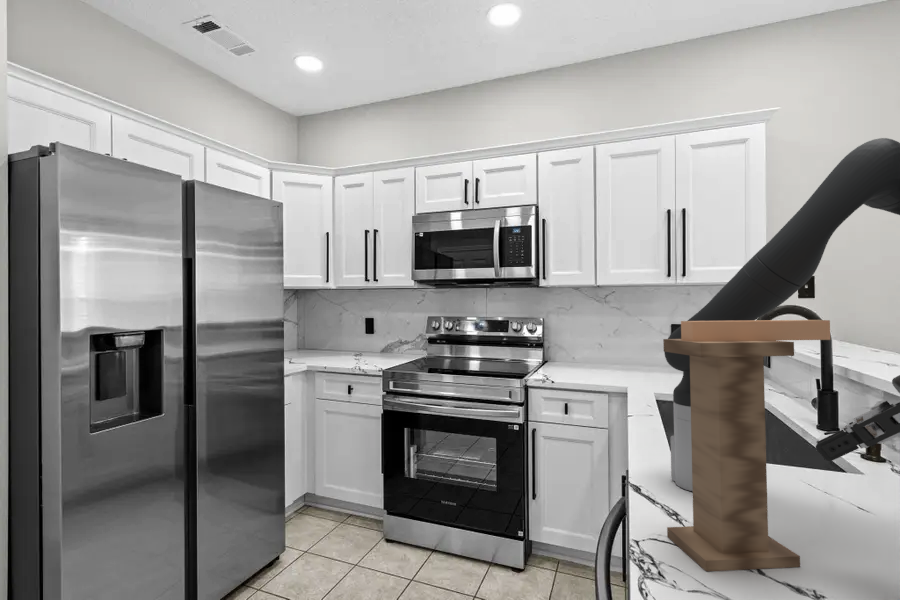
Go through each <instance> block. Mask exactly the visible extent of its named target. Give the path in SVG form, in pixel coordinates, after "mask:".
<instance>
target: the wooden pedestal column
mask: <svg viewBox="0 0 900 600" xmlns="http://www.w3.org/2000/svg"><path fill="white" fill-rule="evenodd" d="M662 339H663V352H664V351H665V352H671V353H677V354H684V355H690V395H691V441H692V486H693V491H692V519H693V520H692V522H693V523H692V524H693V525H692V526H691V525H690V526H669V527H668V526H667V527H666V528H667V529H666V530H667V531H666V534H667V535H666V536H667V538H668V539H669V540H670V541H671V542H673V543H674V544H675V545H676V546H677V547H678V548H679V549H681V551H683V552H684V553H685V554H686V555H688V557H689V558H690V559H692V560H693V561H694V562H695V563H696V564H697V565H698V566H699V567H700V568H702V569H703V570H704V571H705V572H723V571H725V572H727V571H739V570H740V571H743V570H744V571H745V570H762V569H763V570H765V569H780V568H781V569H782V568H783V569H784V568H785V569H786V568H800V567H801V556H800V555H799V554H797V553H796V552H794V551H792V550H791V549H790V548H788V547H786V546H785V545H784V544H781V543H780V542H778V541H777V540H775V539H774V538H773V537H771V536H769V521H768V519H769V518H768V516H769V515H768V488H767V487H768V478H767V477H768V475H767V442H766V441H767V440H766V439H767V437H766V436H767V435H766V405H765V404H766V403H765V402H766V401H765V371H764V370H765V367H764V365H765V363H764V357H794V356H795V342H794V341H789V340H776V341H696V342H693V341H683V340H681V339H668V338H662Z"/></svg>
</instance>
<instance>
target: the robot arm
mask: <svg viewBox="0 0 900 600" xmlns="http://www.w3.org/2000/svg"><path fill="white" fill-rule="evenodd" d="M863 205H865V206H866V207H869V208H872V209H877V210H881V211H886V212H887V213H888V212H889V213H892V214H895V215H899V216H900V141H897V140H894V139H892V138H888V137H880V138H874V139H871V140H868V141H866V142H864V143H862V144H860V145H858V146H856V148H854V149H852V150H851V151H850V152H849V153H847V154H846V155H845V156H844V157H843V158H842V159H841V160H840V161H839V162H838V164H837V165H836V166H835V167H834V168H833V169H832V170H831V171H830V173H829V174H828V175H827V176H826V177H825V179H824V180H823V181H822V182H821V184H820V185H818V187H817V189H816V190H815V191H813V193H812V194H811V196H810V197H809V198H808V199H807V201H806V202H805V203H804V204H803V205H802V207H801V208H800V209H799V210H798V211H797V212H796V213H795V214H794V215H793V216H792V217H791V218H790V219H789V220H787V222H786V223H785V224H784V225H783V227H781V229H779V231H777V233H776V234H775V235H774V236H773V237H772V238H771V239H770V240H769V241H768V242H767V243H766V244H765V245H764V246H762V248H760V249H759V250H758V251H757V252H756V253H755V254H754V255H753V256H752V257H751V258H749V260H748V261H747V262H746V263H745V264H744V265H743V266H742V267H741V268H740V269H739V270H738V271H737V272H736V273H735V275H734V276H733V277H732V278H730V280H729V281H728V282H727V283H725V285H723V287H722V288H720V290H719V291H718V292H717V293H716V294H715V295H714V296H713V297H712V298H711V300H709V301H708V303H706V305H704V306H703V307H702V308H701V309H700V310H699V311H698V312H697V313H695V314H694V315H693V316H691V317H690V318H689V319H687V321H753V320H757V319H759V318H761V317H763V316H764V315H766V314H769V313H770V312H772V311H774V310H775V309H776V308H778V307H779V306H780V305H782V304H783V303H784V302H785V301H787V300H788V299H789V298H791V297H792V296H793V295H794V294H795V293H796V292H798V291H799V290H800V289H801V288H802V287H803V286H804V285H806V284H807V282H809V281H810V279H812V277H813V276H814V274H815V273H816V271H817V269H818V267H819V265H820V262H821V261H822V259H823V255H824V252H825V250H826V247H827V245H828V242H829V240H830V239H831V237H832V236H833V234H834V233H835V231H837V230H838V228H839V227H840V226H841V225H842V224H843V223H844V222H845V221H846V220H847V219H849V217H850V216H852V215H853V213H854V212H855V211H857V210H858V209H859V208H861V207H862V206H863ZM667 339H681V325H680V326H679V327H678V328H676V329H675V330H674V331H673V332H672V333H670V335H669V336H668V338H667ZM663 352H664V359H665V361H666V362H667V364H668V365H669V366H671V367H672V368H673V369H675V370H677V371H679V372H682V378H681V380H680V382H679V383H678V384H677V385H676V386H675V387H674V389H673V393H672V396H673V398H672V400H673V435H671V436H670V474H671V475H670V476H671V477H670V478H671V480H672V481H673V482H674V483H675V484H676V485H677V486H678V487H679V488H681V489H683V490H686V491H690V492H693V486H692V441H691V395H690V355H684V354H677V353H671V352H665V351H664V350H663ZM891 380H892V381H891V384H892V386H893V387H894V388H895V390H896V392H898V393H899V394H900V374H899V375H897V376H895V377H893V378H892V379H891ZM897 437H900V401H899V402H897V403H895V404H894V403H890V402H888V400H885V401H882V402H879V403H877V404H876V405H874V406H871V408H870V410H867V411H866V412H864V413H862V414H860V415H858V416H856V417H855V418H853V421H851V422H849V423H848V424H846V425H844V426H843V427H842V429H840V430H839V431H836V432H834V433H832V434H831V435H829V436H826V437H824V438H821V439H820V440H818V441H817V442H816V445H815V449H816V451H817V452H818V453H819V454H820V456H821V457H822V458H823V459H824V460H825V461H827V462H832V461H835V460H837V459H839V458H842V457H843V456H845V455H847V454H849V453H851V452H854V451H856V450H859V449H863V448H864V449H867V448H869V447H874V446H876V445H877V444H881V445H882V444H883V443H886V442H889V441H891V440H893V439H895V438H897Z"/></svg>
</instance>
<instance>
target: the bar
mask: <svg viewBox="0 0 900 600" xmlns="http://www.w3.org/2000/svg"><path fill="white" fill-rule="evenodd" d="M680 326H681V340H683V341H693V342H696V341H831V320H830V319H826V320H825V319H787V320H785V319H783V320H782V319H781V320H780V319H779V320H777V319H770V320H768V319H767V320H765V319H763V320H761V319H759V320H757V319H756V320H753V321H688V320H681V321H680Z"/></svg>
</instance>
